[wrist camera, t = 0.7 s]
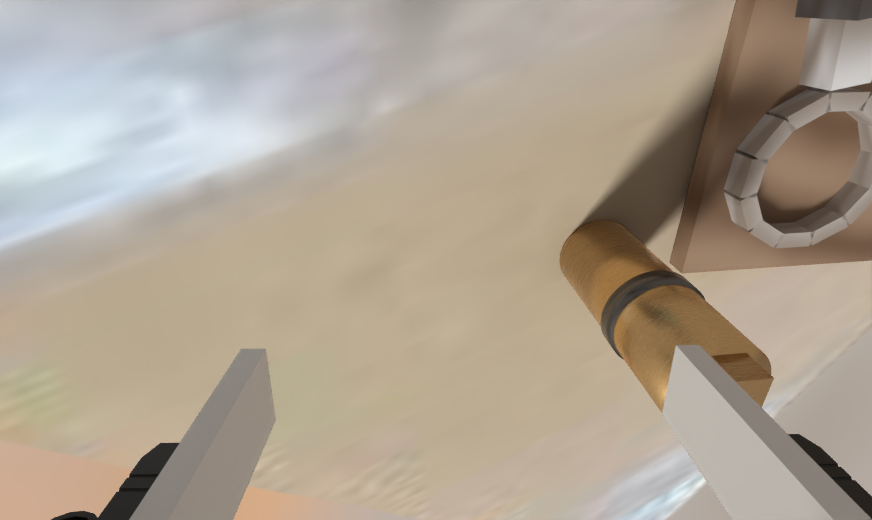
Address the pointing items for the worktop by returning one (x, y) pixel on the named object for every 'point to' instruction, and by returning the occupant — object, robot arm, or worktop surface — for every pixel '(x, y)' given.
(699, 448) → the robot arm
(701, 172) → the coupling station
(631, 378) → the worktop surface
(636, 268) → the coupling
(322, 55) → the worktop surface
